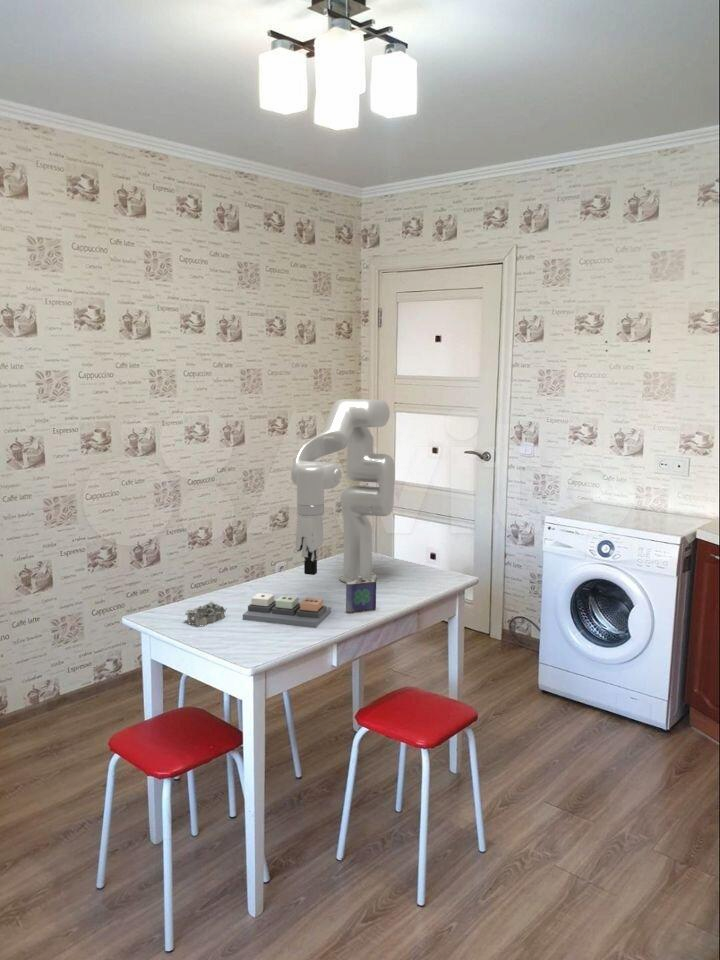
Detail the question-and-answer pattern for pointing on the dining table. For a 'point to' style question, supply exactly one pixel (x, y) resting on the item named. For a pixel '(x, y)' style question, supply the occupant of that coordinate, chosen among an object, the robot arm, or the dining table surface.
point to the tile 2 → (287, 602)
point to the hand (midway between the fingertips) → (310, 573)
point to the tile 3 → (311, 604)
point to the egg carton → (205, 614)
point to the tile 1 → (262, 599)
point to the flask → (361, 595)
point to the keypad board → (286, 615)
